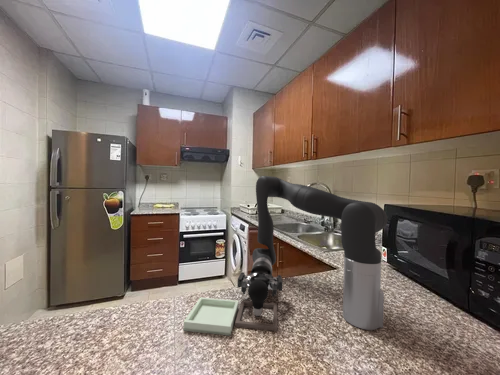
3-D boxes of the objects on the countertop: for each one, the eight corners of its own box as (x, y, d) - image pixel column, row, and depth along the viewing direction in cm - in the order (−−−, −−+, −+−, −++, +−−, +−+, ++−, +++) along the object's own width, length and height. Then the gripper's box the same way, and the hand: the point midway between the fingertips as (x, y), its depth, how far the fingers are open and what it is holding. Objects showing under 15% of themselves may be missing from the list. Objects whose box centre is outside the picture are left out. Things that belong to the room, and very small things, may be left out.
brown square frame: (276, 306, 64) (276, 303, 64) (277, 331, 53) (277, 327, 53) (241, 303, 65) (241, 300, 65) (234, 326, 54) (235, 322, 54)
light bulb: (266, 324, 56) (267, 286, 56) (245, 320, 57) (246, 284, 57) (268, 311, 61) (269, 277, 61) (249, 308, 62) (250, 275, 63)
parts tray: (238, 308, 63) (238, 300, 63) (230, 335, 51) (230, 326, 51) (200, 304, 64) (200, 297, 64) (183, 330, 52) (183, 321, 52)
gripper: (243, 259, 77) (234, 277, 61) (281, 261, 76) (283, 281, 60) (242, 279, 77) (234, 302, 61) (281, 282, 76) (282, 307, 60)
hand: (258, 292), depth 61 cm, fingers open, 8 cm apart
